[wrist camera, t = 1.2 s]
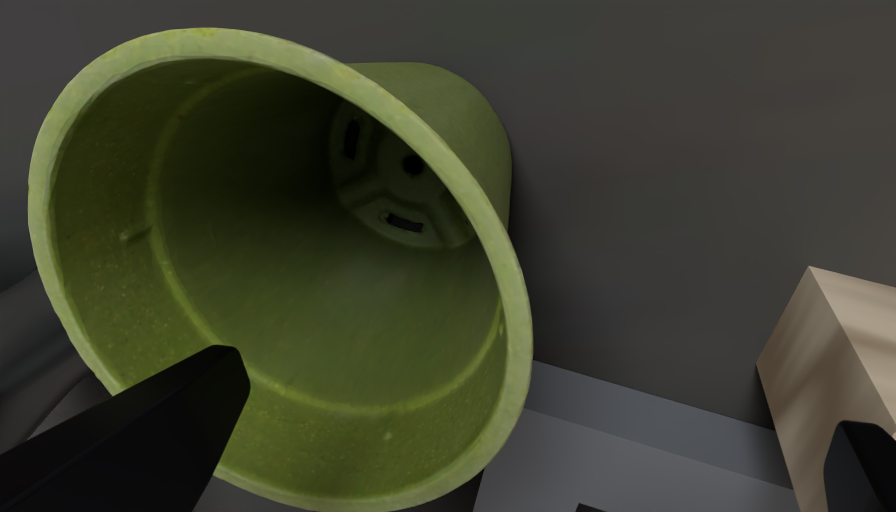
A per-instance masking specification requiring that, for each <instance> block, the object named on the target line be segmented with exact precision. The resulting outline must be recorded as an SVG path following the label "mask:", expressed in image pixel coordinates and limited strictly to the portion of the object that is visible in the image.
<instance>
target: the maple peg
mask: <svg viewBox="0 0 896 512" xmlns="http://www.w3.org/2000/svg"><path fill="white" fill-rule="evenodd" d="M756 366H757V369H758V372H759V376H760V379H761V382H762V386H763V389H764V392H765V395H766V399H767V402H768V405H769V409H770V412H771V415H772V419H773V422H774V425H775V429H776V432H777V435H778V438H779V442H780V445H781V448H782V452H783V455H784V458H785V462H786V465H787V468H788V472H789V475H790V478H791V481H792V485H793V488H794V491H795V495H796V498H797V501H798V505H799V508H800V511H801V512H828V507H827V500H826V493H825V487H824V479H823V467H824V462H825V458H826V455H827V452H828V449H829V446H830V443H831V440H832V437H833V434H834V431H835V428H836V426H837V424H838V423H839V422H840V421H842V420H852V421H860V422H868V423H874V424H877V425H879V426H880V427H882V428H883V429H884V430H885V431H886V432H887V433H888V434H890V435H891V436H892V437H893V438H894V439H895V440H896V288H894V287H890V286H886V285H882V284H878V283H874V282H870V281H866V280H862V279H858V278H854V277H850V276H847V275H843V274H839V273H835V272H831V271H827V270H823V269H819V268H815V267H811V266H808V268H807V270H806V271H805V273H804V275H803V277H802V279H801V281H800V282H799V284H798V286H797V288H796V290H795V292H794V294H793V295H792V297H791V299H790V301H789V303H788V305H787V307H786V308H785V310H784V312H783V314H782V316H781V318H780V319H779V321H778V323H777V325H776V327H775V329H774V331H773V332H772V334H771V336H770V338H769V340H768V342H767V343H766V345H765V347H764V349H763V351H762V353H761V355H760V356H759V358H758V360H757V362H756Z"/></svg>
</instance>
